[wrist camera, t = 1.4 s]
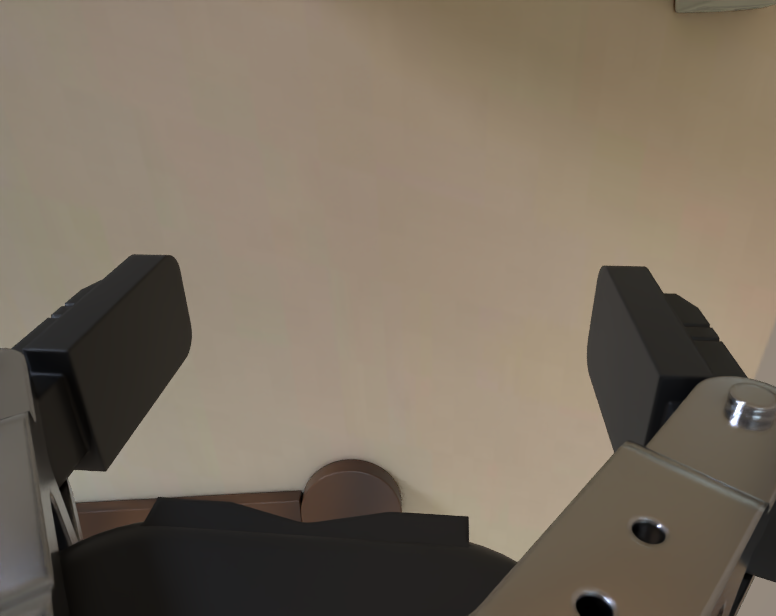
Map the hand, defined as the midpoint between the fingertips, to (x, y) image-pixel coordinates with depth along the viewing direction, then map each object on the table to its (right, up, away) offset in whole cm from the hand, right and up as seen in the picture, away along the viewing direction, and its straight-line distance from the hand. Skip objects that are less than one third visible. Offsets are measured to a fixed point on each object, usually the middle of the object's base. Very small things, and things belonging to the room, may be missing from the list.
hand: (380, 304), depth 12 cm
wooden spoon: (-9, -12, +26) cm, 30 cm away
